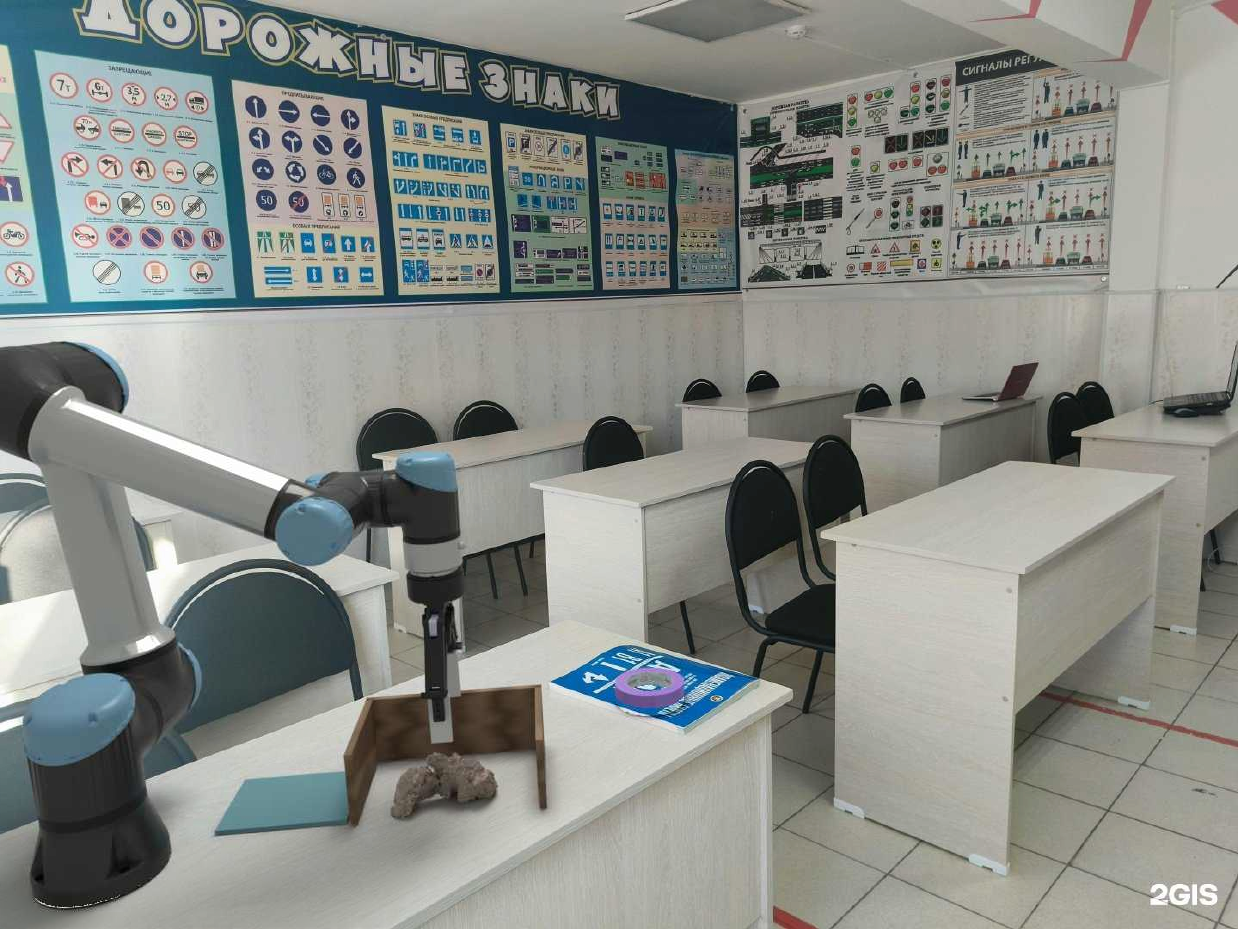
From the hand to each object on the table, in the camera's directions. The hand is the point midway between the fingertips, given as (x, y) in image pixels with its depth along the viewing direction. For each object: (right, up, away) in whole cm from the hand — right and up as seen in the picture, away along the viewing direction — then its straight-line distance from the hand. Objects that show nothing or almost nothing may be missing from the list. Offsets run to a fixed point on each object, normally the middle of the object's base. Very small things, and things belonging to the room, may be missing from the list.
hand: (447, 717), depth 123 cm
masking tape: (+29, -6, +29) cm, 42 cm away
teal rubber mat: (-22, -12, +2) cm, 25 cm away
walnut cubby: (0, -11, +6) cm, 12 cm away
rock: (0, -12, +1) cm, 12 cm away
